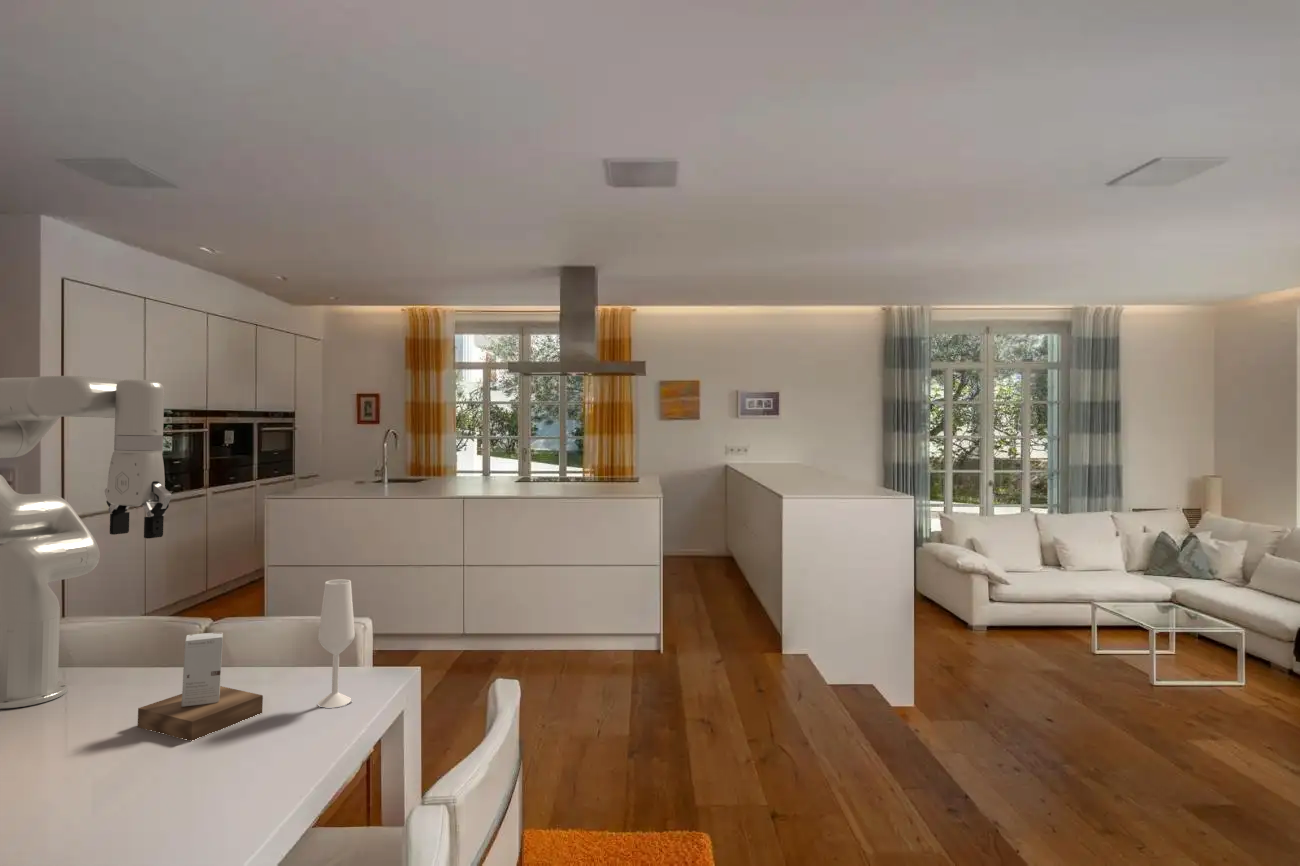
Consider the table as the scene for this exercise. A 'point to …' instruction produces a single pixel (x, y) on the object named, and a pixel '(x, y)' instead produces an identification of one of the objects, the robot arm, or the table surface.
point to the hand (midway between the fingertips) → (136, 535)
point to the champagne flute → (336, 631)
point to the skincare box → (202, 669)
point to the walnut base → (199, 714)
